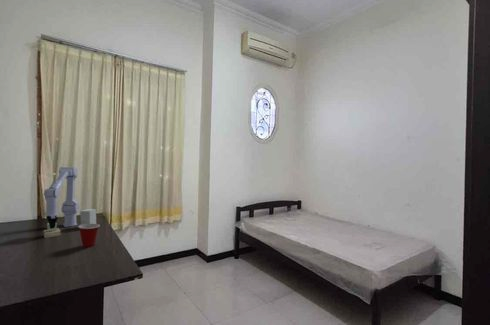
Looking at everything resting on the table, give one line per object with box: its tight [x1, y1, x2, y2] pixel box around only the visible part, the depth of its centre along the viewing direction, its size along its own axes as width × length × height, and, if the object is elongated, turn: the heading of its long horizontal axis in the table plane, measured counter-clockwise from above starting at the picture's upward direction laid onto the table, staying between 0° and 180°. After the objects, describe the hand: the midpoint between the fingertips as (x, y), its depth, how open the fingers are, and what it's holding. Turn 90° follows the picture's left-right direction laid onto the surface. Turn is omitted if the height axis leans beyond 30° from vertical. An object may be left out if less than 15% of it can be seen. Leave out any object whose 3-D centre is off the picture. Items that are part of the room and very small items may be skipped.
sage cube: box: [46, 222, 58, 232], centre depth 165 cm, size 4×4×4 cm
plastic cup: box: [77, 223, 101, 248], centre depth 147 cm, size 11×11×12 cm
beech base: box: [43, 227, 61, 239], centre depth 165 cm, size 8×8×3 cm
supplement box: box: [79, 208, 97, 225], centre depth 185 cm, size 7×7×13 cm
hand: (52, 227), depth 165 cm, fingers closed on sage cube, 4 cm apart
